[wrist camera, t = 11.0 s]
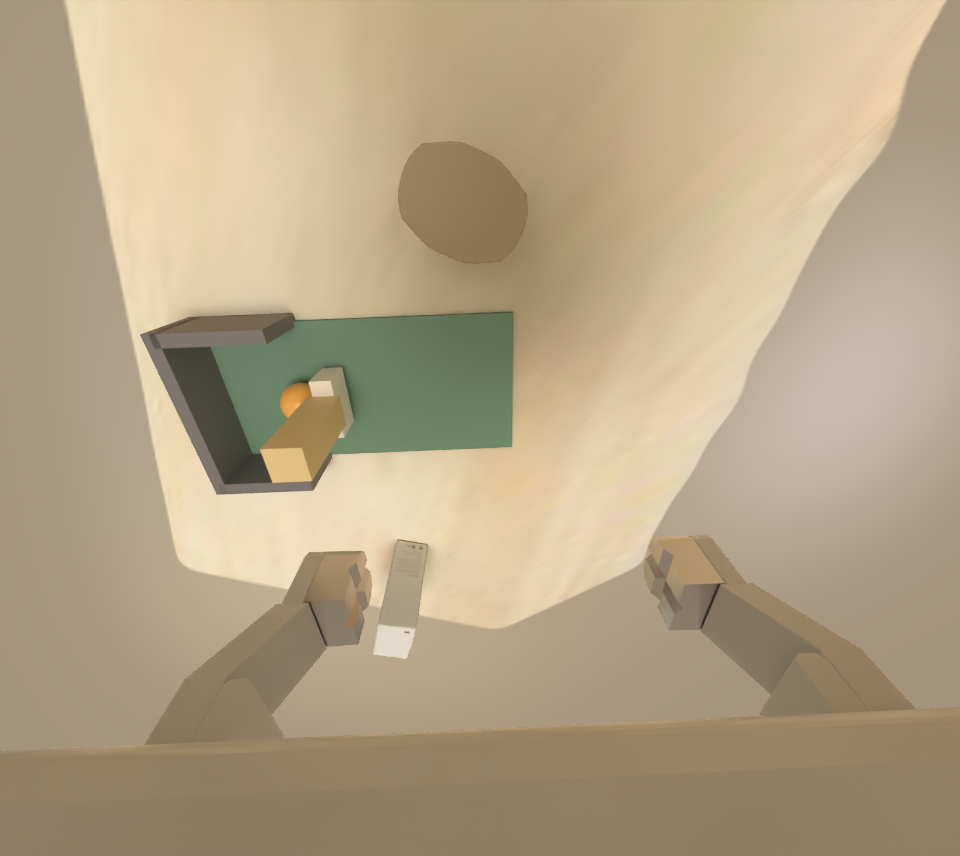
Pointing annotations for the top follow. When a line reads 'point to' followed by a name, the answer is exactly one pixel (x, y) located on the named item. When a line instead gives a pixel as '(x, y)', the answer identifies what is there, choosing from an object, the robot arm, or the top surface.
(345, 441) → the pitch
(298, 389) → the ball
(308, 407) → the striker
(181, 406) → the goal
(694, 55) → the top surface
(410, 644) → the skincare box
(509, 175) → the handle
